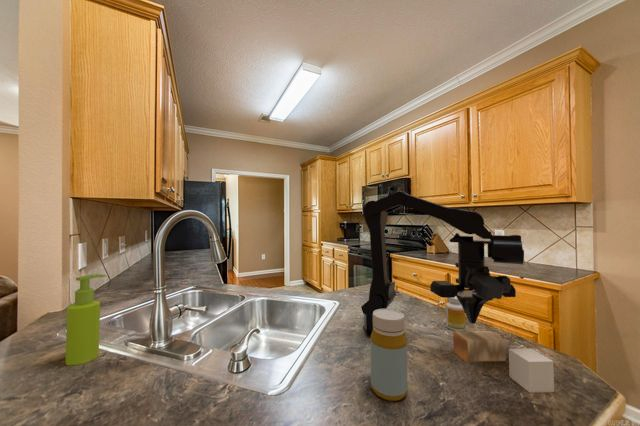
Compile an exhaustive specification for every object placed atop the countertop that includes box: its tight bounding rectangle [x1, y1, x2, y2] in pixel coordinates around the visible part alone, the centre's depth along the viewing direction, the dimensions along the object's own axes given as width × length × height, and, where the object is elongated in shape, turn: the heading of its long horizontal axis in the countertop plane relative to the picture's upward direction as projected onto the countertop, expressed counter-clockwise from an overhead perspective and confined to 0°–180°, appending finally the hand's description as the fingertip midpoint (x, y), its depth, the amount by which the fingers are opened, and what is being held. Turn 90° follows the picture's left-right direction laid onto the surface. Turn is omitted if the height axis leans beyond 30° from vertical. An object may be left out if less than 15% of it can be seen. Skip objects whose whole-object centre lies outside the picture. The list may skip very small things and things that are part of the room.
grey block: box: [508, 348, 555, 394], centre depth 52 cm, size 5×5×6 cm
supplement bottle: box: [445, 297, 466, 331], centre depth 79 cm, size 5×5×10 cm
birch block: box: [452, 330, 507, 363], centre depth 63 cm, size 5×5×10 cm
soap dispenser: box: [64, 273, 107, 367], centre depth 62 cm, size 6×7×20 cm
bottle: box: [370, 308, 408, 402], centre depth 50 cm, size 7×7×15 cm
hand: (472, 323), depth 63 cm, fingers closed
